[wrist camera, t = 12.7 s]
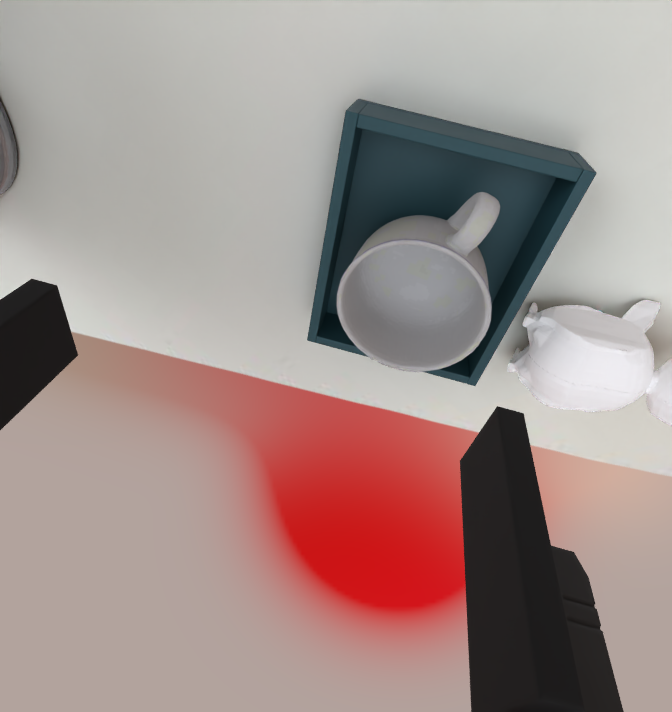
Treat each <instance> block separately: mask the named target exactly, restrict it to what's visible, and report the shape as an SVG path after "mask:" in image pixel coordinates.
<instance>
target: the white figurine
mask: <svg viewBox="0 0 672 712" xmlns="http://www.w3.org/2000/svg"><path fill="white" fill-rule="evenodd" d="M660 307H661V303H659V302H655V301H650V300H642V301H640V302H638V303H637V304H635V305H633V306H632V307H631V308H630V309H629V311H627V312H626V313H625V315H624V316H623V317H622V318H618V317H615V316H612V315H610V314H605V313H602V312H601V311H599V310H594V309H592V308H591V307H586V306H585V305H584V306H579V305H565V306H564V305H562V306H555V307H552V308H548V309H545V310H542V311H540V312H538V311H537V310H538V308H537V304H536V303H534V302H533V303H532V305H531V307H530V309H529V311H528V314H527V315H526V316H525V318H524V321H523V323H522V325H523V326H524V327H527V332H528V338H529V343H530V344H529V345H528V346H527V347H526V348H525V349H524V350H523V351H522V352H520V350H519V348H517V349H516V351H515V353H514V355H513V357H512V359H511V360H510V362H509V365H508V368H507V371H508V372H517V373H518V374H519V376H518V378H519V379H520V381H521V382H522V383H523V384H524V385H525V386H526V387H527V389H528V390H529V391H530V392H531V393H532V394H533V395H534V396H535V397H536V399H537V400H539V401H540V402H541V403H544V404H545V405H546V406H549V407H554V408H558V409H572V410H583V411H585V412H598V411H614V410H619V409H621V408H623V407H625V406H627V405H628V404H630V403H632V402H634V401H636V400H637V399H638V398H639V397H641V396H642V395H643V394H644V393H645V394H647V399H646V403H647V406H648V408H649V411H650V413H651V414H652V415H654V416H655V417H656V418H658V419H660V420H661V421H663V422H664V423H666V424H668V425H671V426H672V358H670V359H669V360H667V361H666V362H665V363H664V364H663V365H662V366H661V367H660V368H659V369H658V370H655V371H654V352H653V348H652V346H651V344H650V342H649V340H648V338H647V337H646V335H645V332H646V331H647V330H648V329H649V328H650V327H651V326H652V325H653V323H654V321H655V317H656V315H657V314H658V312H659V310H660Z"/></svg>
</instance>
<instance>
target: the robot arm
mask: <svg viewBox="0 0 672 712" xmlns="http://www.w3.org/2000/svg"><path fill="white" fill-rule="evenodd" d="M16 171H17V148H16V142H15V138H14V134H13V130H12V127H11V125H10V122H9V119H8V117H7V114H6V112H5V110H4V108H3V106H2V104H1V102H0V195H1V194H3V193H4V192H5V191H6V190H7V189H8V188H9V187H10V186H11V184H12V183H13V180H14V178H15V175H16ZM77 356H78V354H77V350H76V347H75V344H74V340H73V337H72V334H71V330H70V327H69V324H68V320H67V317H66V314H65V310H64V307H63V304H62V300H61V297H60V294H59V290H58V287H57V285H53V284H49V283H46V282H42V281H38V280H35V279H31V280H29V281H28V282H26V283H25V284H23V285H22V286H20V287H19V288H17V289H16V290H14V291H13V292H11V293H10V294H8V295H7V296H5V297H4V298H2V299H1V300H0V430H1V429H2V428H3V427H4V426H5V425H6V424H7V423H8V422H9V421H10V420H11V419H12V418H13V417H14V416H15V415H16V414H18V413H19V412H20V411H21V410H22V409H23V408H24V407H25V406H26V405H27V404H28V403H29V402H30V401H31V400H32V399H33V398H34V397H35V396H36V395H37V394H38V393H39V392H40V391H41V390H42V389H44V388H45V387H46V386H47V385H48V383H50V382H51V381H52V380H53V379H54V378H55V377H56V376H57V375H58V374H59V373H60V372H61V371H62V370H63V369H64V368H65V367H66V366H67V365H68V364H69V363H70V362H71V361H72V360H74V359H75V358H76V357H77ZM460 471H461V491H462V513H463V514H462V515H463V536H464V559H465V580H466V602H467V624H468V646H469V668H470V690H471V709H472V710H471V712H623V708H622V704H621V701H620V697H619V693H618V689H617V685H616V682H615V678H614V674H613V670H612V666H611V662H610V658H609V655H608V651H607V647H606V643H605V639H604V636H603V632H602V631H601V630H600V626H601V624H600V620H599V616H598V612H597V609H595V607H594V604H595V601H594V597H593V593H592V589H591V586H590V582H589V578H588V576H587V574H586V572H585V571H584V569H583V567H582V565H581V564H580V562H579V560H578V559H577V557H576V555H575V553H574V552H572V551H568V550H564V549H561V548H557V547H554V546H551V544H550V540H549V534H548V530H547V525H546V520H545V515H544V510H543V505H542V501H541V496H540V491H539V486H538V482H537V476H536V472H535V467H534V462H533V458H532V452H531V447H530V443H529V438H528V433H527V428H526V423H525V418H524V414H523V413H520V412H516V411H513V410H509V409H505V408H502V407H498V406H497V407H496V409H495V410H494V412H493V413H492V415H491V416H490V418H489V419H488V421H487V422H486V424H485V425H484V427H483V428H482V429H481V431H480V432H479V434H478V435H477V437H476V438H475V440H474V442H473V443H472V444H471V446H470V447H469V449H468V450H467V452H466V453H465V454H464V456H463V458H462V459H461V460H460Z"/></svg>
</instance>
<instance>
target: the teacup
mask: <svg viewBox="0 0 672 712" xmlns="http://www.w3.org/2000/svg"><path fill="white" fill-rule="evenodd" d="M499 211H500V204H499V201H498V200H497V199H496V198H495V197H493V196H491V195H490V194H488V193H485V192H479V193H476V194H475V195H473V196H472V197H471V198H470V199H469V200H467V201H466V202H465V203H464V204H463V205H462V207H461V208H460V209H459V210H458V211H457V212H456V213H455V214H454V215H453V216H451V217H450V218H449V219H448V220H444V219H441V218H437V217H433V216H425V215H414V216H407V217H402V218H399V219H396V220H394V221H391V222H389V223H387V224H386V225H384V226H382V227H381V228H379V229H378V230H377V231H376V232H374V233H373V234H372V235H371V236H370V237H369V238H368V239H367V240H366V242H365V243H364V244H363V246H362V247H361V249H360V250H359V251H358V253H357V255H356V256H355V258H354V260H353V262H352V263H351V264H350V265H349V267H348V268H347V270H346V271H345V273H344V274H343V276H342V278H341V281H340V284H339V288H338V292H337V312H338V316H339V320H340V322H341V325H342V327H343V329H344V331H345V332H346V334H347V335H348V337H349V338H350V340H351V341H352V342H353V343H354V344H355V345H356V346H357V348H358V349H360V350H361V351H362V352H363V353H365V354H366V355H367V356H368V357H370V358H371V359H372V360H375V361H377V362H379V363H381V364H383V365H386V366H388V367H391V368H396V369H399V370H403V371H414V372H422V371H432V370H437V369H442V368H444V367H448V366H450V365H452V364H455V363H457V362H459V361H461V360H462V359H464V358H465V357H467V356H468V355H469V354H471V353H472V352H473V351H474V350H475V349H476V347H477V346H479V344H480V342H481V341H482V340H483V338H484V336H485V335H486V332H487V331H488V328H489V325H490V322H491V311H492V304H491V297H490V293H489V287H488V277H487V271H486V266H485V262H484V259H483V257H482V254H481V252H480V250H479V248H478V247H477V246H478V245H479V244H480V243H481V242H482V240H483V239H484V238H485V237H486V235H487V234H488V233H489V231H490V230H491V228H492V227H493V225H494V223H495V222H496V219H497V217H498V215H499Z"/></svg>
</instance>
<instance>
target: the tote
mask: <svg viewBox="0 0 672 712" xmlns="http://www.w3.org/2000/svg"><path fill="white" fill-rule="evenodd" d="M595 175H596V172H595V171H594V169H593V168H592V167H591V166H590V165H589V164H588V163H587V162H586V161H585V160H584V159H583V158H582V156H581V155H580V154H579V153H576V152H572V151H568V150H564V149H560V148H556V147H552V146H548V145H544V144H540V143H535V142H531V141H527V140H523V139H519V138H515V137H511V136H507V135H503V134H499V133H495V132H491V131H487V130H483V129H479V128H475V127H471V126H466V125H462V124H458V123H454V122H450V121H446V120H442V119H438V118H434V117H430V116H426V115H422V114H418V113H414V112H410V111H406V110H402V109H397V108H393V107H389V106H385V105H381V104H377V103H373V102H369V101H365V100H361V99H358V100H356V101H355V102H354V103H353V104H352V105H351V106H350V107H349V108H348V109H347V110H346V113H345V119H344V125H343V131H342V137H341V142H340V148H339V154H338V160H337V166H336V172H335V178H334V184H333V190H332V196H331V202H330V208H329V214H328V220H327V226H326V232H325V238H324V243H323V249H322V255H321V261H320V267H319V273H318V279H317V285H316V291H315V297H314V303H313V309H312V315H311V321H310V327H309V333H308V338H307V340H308V341H311V342H316V343H319V344H323V345H326V346H330V347H334V348H337V349H341V350H345V351H348V352H352V353H356V354H360V355H363V356H367V355H366V354H365V353H363V352H362V351H361V350H360V349H358V348H357V346H356V345H355V344H354V343H353V342H352V341H351V340H350V338H349V337H348V335H347V334H346V332H345V331H344V329H343V327H342V325H341V322H340V320H339V316H338V312H337V292H338V288H339V284H340V281H341V278H342V276H343V274H344V273H345V271H346V270H347V268H348V267H349V265H350V264H351V263H352V262H353V260H354V258H355V256H356V255H357V253H358V251H359V250H360V249H361V247H362V246H363V244H364V243H365V242H366V240H367V239H368V238H369V237H370V236H371V235H372V234H373V233H374V232H376V231H377V230H378V229H379V228H381V227H382V226H384V225H386V224H387V223H389V222H391V221H394V220H396V219H399V218H402V217H407V216H414V215H425V216H433V217H437V218H441V219H444V220H448V219H449V218H450V217H451V216H453V215H454V214H455V213H456V212H457V211H458V210H459V209H460V208H461V207H462V205H463V204H464V203H465V202H466V201H467V200H469V199H470V198H471V197H472V196H473V195H475V194H476V193H479V192H485V193H488V194H490V195H491V196H493V197H495V198H496V199H497V200H498V201H499V204H500V211H499V215H498V217H497V219H496V222H495V223H494V225H493V227H492V228H491V230H490V231H489V233H488V234H487V235H486V237H485V238H484V239H483V240H482V242H481V243H480V244H479V245H478V246H477V247H478V248H479V250H480V252H481V254H482V257H483V259H484V262H485V266H486V271H487V277H488V287H489V293H490V297H491V304H492V311H491V322H490V325H489V328H488V331H487V332H486V335H485V336H484V338H483V340H482V341H481V342H480V344H479V346H477V347H476V349H475V350H474V351H473V352H472V353H471V354H469V355H468V356H467V357H465V358H464V359H462V360H461V361H459V362H457V363H455V364H452V365H450V366H448V367H444V368H442V369H437V370H432V371H422V372H426V373H429V374H433V375H437V376H440V377H444V378H448V379H451V380H455V381H459V382H463V383H467V384H470V385H473V386H475V385H476V384H477V382H478V380H479V378H480V377H481V375H482V373H483V371H484V370H485V368H486V366H487V364H488V363H489V361H490V359H491V357H492V356H493V354H494V352H495V350H496V349H497V347H498V345H499V343H500V342H501V340H502V338H503V336H504V335H505V333H506V331H507V329H508V328H509V326H510V324H511V322H512V321H513V319H514V317H515V315H516V314H517V312H518V310H519V308H520V307H521V305H522V303H523V301H524V300H525V298H526V296H527V294H528V292H529V291H530V289H531V287H532V285H533V284H534V282H535V280H536V278H537V277H538V275H539V273H540V271H541V270H542V268H543V266H544V264H545V263H546V261H547V259H548V257H549V256H550V254H551V252H552V250H553V249H554V247H555V245H556V243H557V242H558V240H559V238H560V236H561V235H562V233H563V231H564V229H565V228H566V226H567V224H568V222H569V221H570V219H571V217H572V215H573V214H574V212H575V210H576V208H577V206H578V205H579V203H580V201H581V199H582V198H583V196H584V194H585V192H586V191H587V189H588V187H589V185H590V184H591V182H592V180H593V178H594V177H595ZM367 357H368V356H367Z"/></svg>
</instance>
